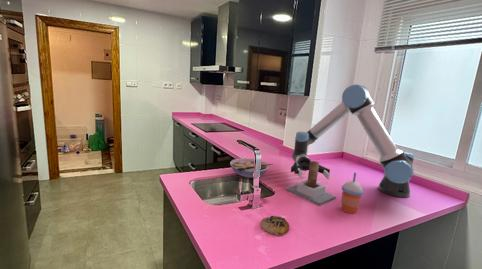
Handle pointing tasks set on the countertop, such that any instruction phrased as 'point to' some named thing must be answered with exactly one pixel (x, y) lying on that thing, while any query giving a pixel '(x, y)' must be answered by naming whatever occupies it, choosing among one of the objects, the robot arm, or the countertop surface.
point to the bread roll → (275, 225)
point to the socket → (311, 193)
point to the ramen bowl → (247, 167)
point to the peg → (313, 174)
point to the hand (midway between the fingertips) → (314, 176)
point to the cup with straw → (351, 195)
